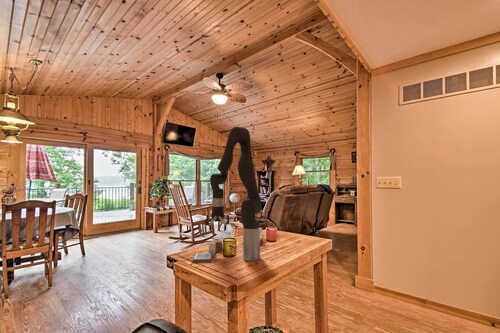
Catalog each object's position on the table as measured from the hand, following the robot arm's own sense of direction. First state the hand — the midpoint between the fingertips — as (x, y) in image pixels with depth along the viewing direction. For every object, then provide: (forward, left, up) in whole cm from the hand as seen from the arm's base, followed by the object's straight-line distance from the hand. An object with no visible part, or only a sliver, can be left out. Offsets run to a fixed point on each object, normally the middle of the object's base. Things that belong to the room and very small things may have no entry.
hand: (217, 231), depth 153 cm
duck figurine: (-26, -15, -12) cm, 32 cm away
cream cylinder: (+3, +7, -11) cm, 14 cm away
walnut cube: (0, 0, -12) cm, 12 cm away
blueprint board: (+7, +16, -11) cm, 21 cm away
